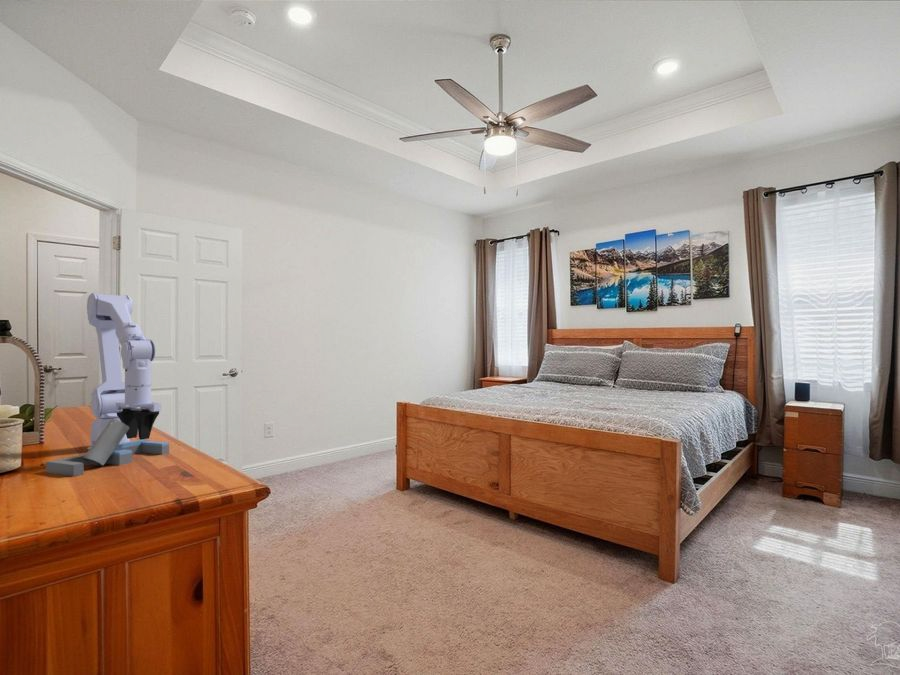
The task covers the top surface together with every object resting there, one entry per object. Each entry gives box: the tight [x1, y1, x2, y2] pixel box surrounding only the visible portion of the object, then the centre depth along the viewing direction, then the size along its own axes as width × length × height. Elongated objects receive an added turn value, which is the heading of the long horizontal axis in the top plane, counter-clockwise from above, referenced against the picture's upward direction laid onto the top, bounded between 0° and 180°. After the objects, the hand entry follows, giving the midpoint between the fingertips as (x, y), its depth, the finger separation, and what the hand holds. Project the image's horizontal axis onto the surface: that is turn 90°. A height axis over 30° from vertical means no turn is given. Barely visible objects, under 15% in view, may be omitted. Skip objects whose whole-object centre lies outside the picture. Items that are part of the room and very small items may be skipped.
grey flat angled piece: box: [45, 444, 170, 477], centre depth 117 cm, size 10×23×2 cm, turn 158°
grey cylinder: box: [83, 420, 129, 467], centre depth 115 cm, size 4×4×10 cm
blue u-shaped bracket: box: [112, 439, 170, 455], centre depth 122 cm, size 10×13×1 cm
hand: (138, 438), depth 122 cm, fingers open, 4 cm apart
